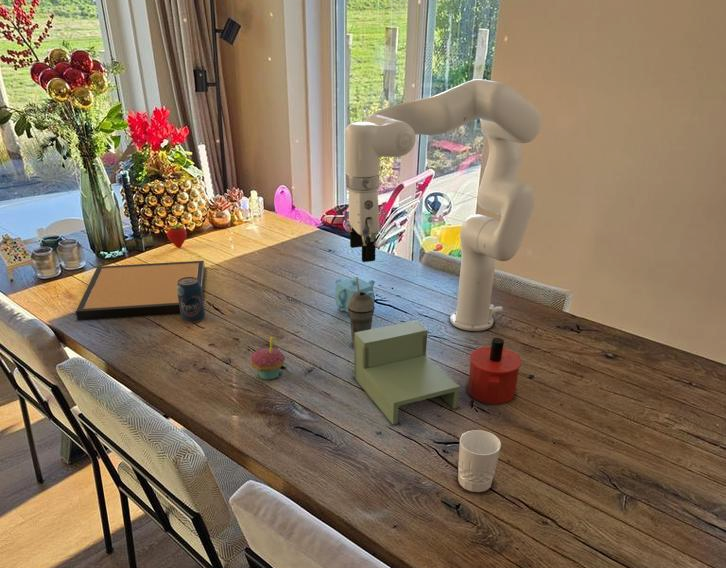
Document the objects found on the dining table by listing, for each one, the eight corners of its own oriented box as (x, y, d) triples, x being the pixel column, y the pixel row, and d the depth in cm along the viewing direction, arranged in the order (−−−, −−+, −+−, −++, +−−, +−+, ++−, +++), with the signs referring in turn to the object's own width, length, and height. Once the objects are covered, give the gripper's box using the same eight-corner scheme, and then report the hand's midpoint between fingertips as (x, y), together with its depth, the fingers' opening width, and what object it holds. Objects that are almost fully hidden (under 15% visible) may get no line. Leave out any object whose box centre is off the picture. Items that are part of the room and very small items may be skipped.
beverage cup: (371, 353, 170) (372, 284, 160) (345, 350, 172) (344, 281, 161) (376, 340, 176) (377, 273, 166) (350, 337, 178) (350, 271, 167)
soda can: (184, 325, 183) (177, 287, 177) (179, 315, 189) (173, 278, 182) (207, 321, 186) (202, 283, 179) (202, 311, 191) (197, 274, 185)
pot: (514, 375, 161) (518, 346, 156) (514, 412, 147) (520, 381, 143) (469, 371, 163) (472, 342, 158) (465, 407, 149) (469, 376, 144)
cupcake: (291, 369, 163) (288, 328, 156) (276, 386, 156) (273, 344, 149) (261, 364, 165) (257, 323, 158) (245, 380, 158) (241, 338, 152)
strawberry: (166, 247, 237) (161, 221, 232) (184, 243, 241) (180, 217, 236) (173, 252, 233) (169, 225, 228) (191, 247, 237) (188, 221, 232)
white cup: (451, 469, 130) (455, 430, 124) (489, 467, 130) (495, 429, 125) (459, 495, 123) (464, 455, 118) (499, 493, 124) (505, 453, 118)
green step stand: (457, 407, 149) (462, 360, 142) (392, 424, 143) (394, 376, 136) (413, 364, 166) (416, 319, 158) (354, 377, 160) (354, 332, 153)
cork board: (200, 312, 191) (205, 268, 220) (199, 303, 189) (203, 260, 219) (77, 320, 186) (99, 274, 215) (75, 311, 184) (97, 266, 213)
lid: (520, 353, 155) (523, 331, 151) (521, 379, 145) (525, 355, 141) (470, 348, 157) (472, 326, 153) (467, 373, 147) (470, 350, 143)
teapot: (321, 306, 195) (320, 275, 190) (356, 294, 202) (356, 264, 197) (357, 326, 183) (357, 295, 178) (393, 313, 191) (394, 282, 185)
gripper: (390, 190, 136) (388, 265, 146) (366, 171, 150) (366, 240, 160) (357, 193, 134) (357, 268, 144) (336, 173, 148) (338, 243, 158)
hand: (362, 253), depth 152 cm, fingers open, 9 cm apart
